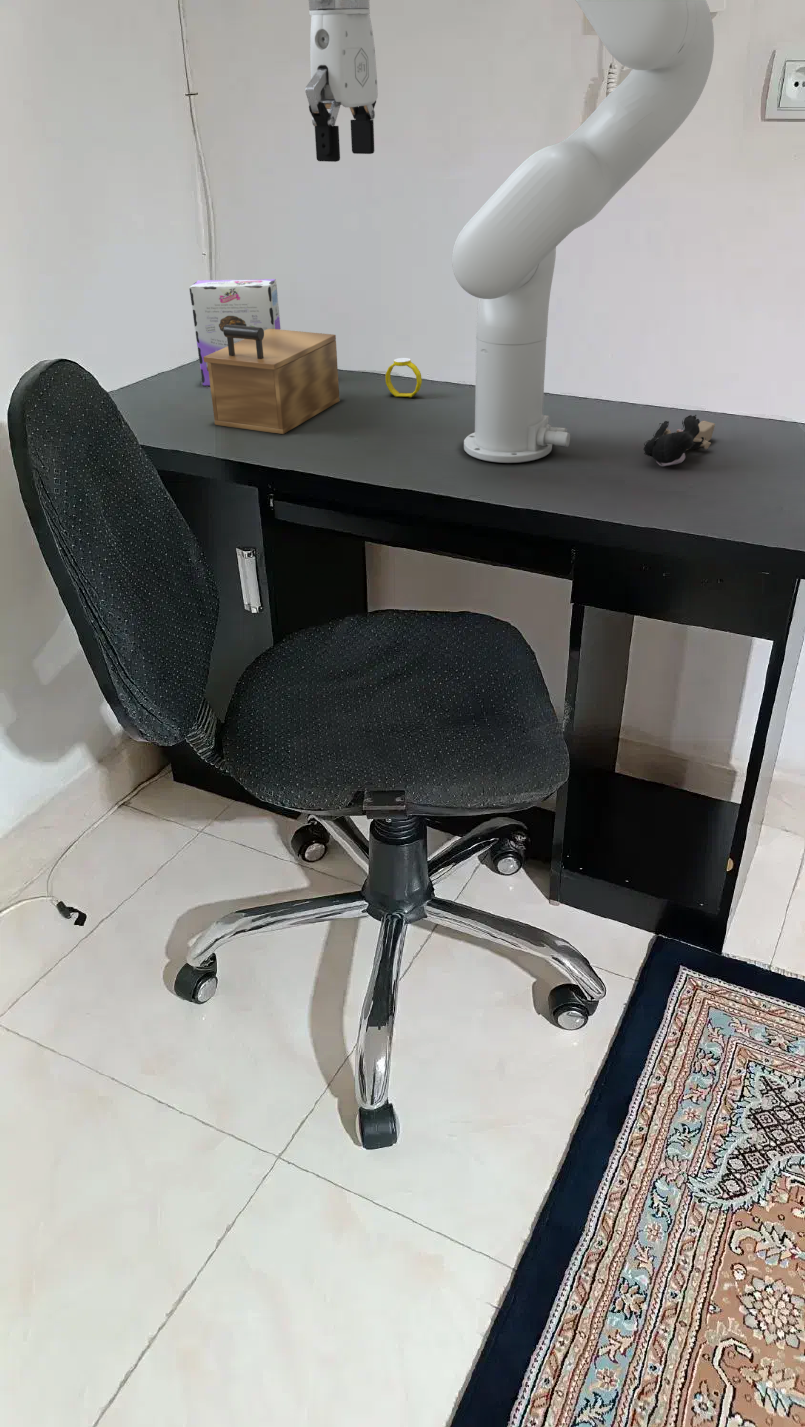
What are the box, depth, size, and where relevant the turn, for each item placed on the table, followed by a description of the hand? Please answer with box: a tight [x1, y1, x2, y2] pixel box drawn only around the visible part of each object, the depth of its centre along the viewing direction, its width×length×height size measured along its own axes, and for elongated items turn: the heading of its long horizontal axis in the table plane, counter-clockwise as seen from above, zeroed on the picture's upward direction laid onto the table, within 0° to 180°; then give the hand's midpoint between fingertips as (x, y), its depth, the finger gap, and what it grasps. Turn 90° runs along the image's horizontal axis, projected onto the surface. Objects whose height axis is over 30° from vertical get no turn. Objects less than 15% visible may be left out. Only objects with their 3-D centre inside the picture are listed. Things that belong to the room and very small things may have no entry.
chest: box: [207, 339, 340, 435], centre depth 164 cm, size 18×12×10 cm
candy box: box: [188, 278, 282, 387], centre depth 177 cm, size 14×6×16 cm, turn 84°
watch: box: [384, 357, 423, 398], centre depth 171 cm, size 6×3×6 cm, turn 66°
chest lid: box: [203, 324, 337, 370], centre depth 159 cm, size 19×12×5 cm, turn 155°
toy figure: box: [643, 414, 716, 468], centre depth 145 cm, size 7×6×15 cm
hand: (346, 157), depth 138 cm, fingers open, 9 cm apart
